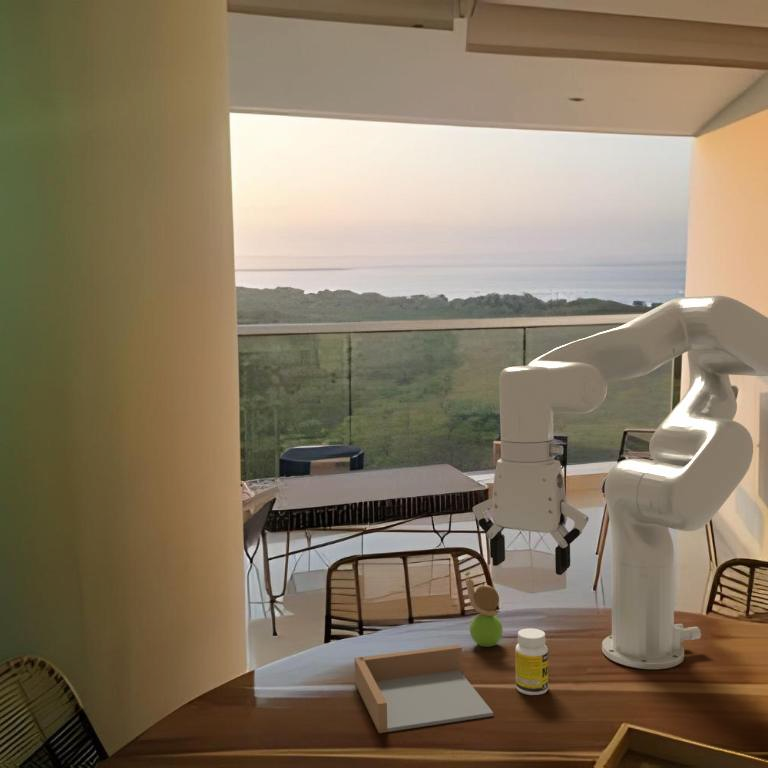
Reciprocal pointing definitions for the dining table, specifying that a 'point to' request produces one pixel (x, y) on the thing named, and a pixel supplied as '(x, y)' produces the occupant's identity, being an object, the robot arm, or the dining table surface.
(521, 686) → the supplement bottle
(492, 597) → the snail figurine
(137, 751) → the dining table surface
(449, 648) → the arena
